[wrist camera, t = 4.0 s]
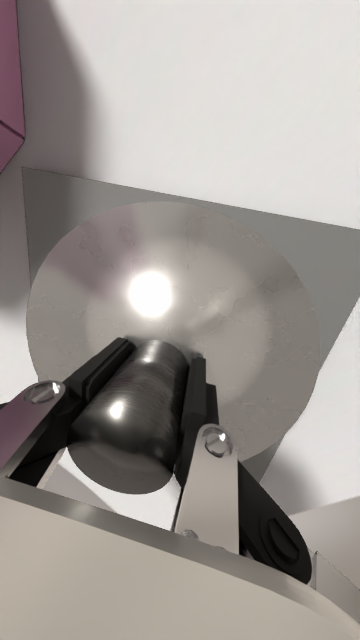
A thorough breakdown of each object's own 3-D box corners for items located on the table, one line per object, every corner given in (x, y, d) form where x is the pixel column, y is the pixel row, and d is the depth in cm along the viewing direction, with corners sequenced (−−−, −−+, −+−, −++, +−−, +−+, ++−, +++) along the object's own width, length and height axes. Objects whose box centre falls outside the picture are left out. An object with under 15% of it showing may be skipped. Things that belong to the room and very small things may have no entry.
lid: (373, 244, 8) (789, 196, 2) (251, 482, 13) (286, 641, 8) (30, 180, 9) (-254, 44, 3) (47, 422, 15) (-54, 523, 9)
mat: (379, 237, 8) (392, 235, 8) (253, 479, 14) (255, 488, 14) (32, 172, 10) (21, 166, 9) (47, 419, 15) (41, 425, 15)
